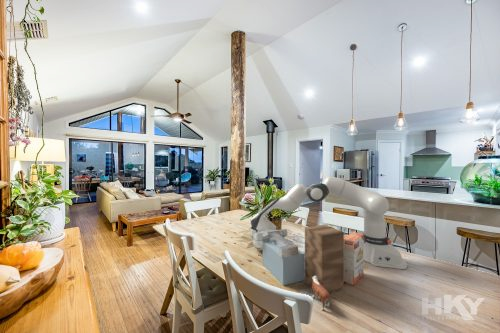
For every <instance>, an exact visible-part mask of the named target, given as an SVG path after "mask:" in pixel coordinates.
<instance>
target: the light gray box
mask: <svg viewBox="0 0 500 333" xmlns="http://www.w3.org/2000/svg"><path fill="white" fill-rule="evenodd" d="M270 241H271V242H272V243H274V244H275V245H276V246H278V247H279V256H280V257H281V258H284V257H289V256H294V255H298V250H299V246H298V245H297V244H296V243H294V242H291V241H290V240H288V239H287V238H286V237H282V236H280V235H279V234H277V233H270Z"/></svg>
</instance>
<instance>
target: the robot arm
mask: <svg viewBox="0 0 500 333" xmlns="http://www.w3.org/2000/svg"><path fill="white" fill-rule="evenodd" d="M328 195H331V196H335V197H337V198H340V199H342V200H344V201H346V202H349V203H350V204H351V203H352V204H353V205H355V206H357V207H359V208H361V209H362V214H363V233H362V234H364V261H365V262H367V263H369V264H371V265H372V266H375V267H382V268H389V269H398V270H400V269H401V270H406V269H407V268H408V263H407V261H406V260H405V259H403V256H402V254H401V252H400V250H399V249H398V248H396V247H395V246H394V245H392V240H391V239H390V237H389V236H387V235H386V234H387V228H386V226H387V224H386V223H387V222H386V217H385V214H386V213H387V212H388V211H389V209H390V202H389V201H388V199H387V197H385V196H384V195H382V194H380V193H379V192H377V191H373V190H369V189H367V188H365V187H363V186H360V185H358V184H355V183H353V182H350V181H348V180H346V179H342V178H339V177H336V176H331V175H330V176H326V178H324V179H323V182H322V183H313V184H311V185H307V186H306V185H304V184H302V183H297V184H295V185H294V186H292V188H291V189H289V191H288V192H286V194H285V195H283V196H282V197H276V198H274V199H273V200H272V201H270V202H269V203H267V205H265V207H263V208H262V209H261V210H260V211H258V212H257V213H255V214H254V215H253V216H252V217H251V219H250V226H251V227H253V228H255V229H257V230H258V231H259V232H260V233H256V234H255V235H254V238H253V237H251V241H252V244H253V246H254V247H255V248H257V249H263V242H264V241H270V233H277V234H279V235H280V236H282V237H284V238H286V237H287V236H288V235H289V234H288V230H287V228H282V229H278V226H276V224H274V223H273V222H272V221H270V220H269V219H268V218H267V217H266V215H268V214H269V213H270V212H271V211H272V210H275V209H276V210H277V209H279V210H282V211H285V212H295V211H296V210H297V209H298V208H299V207H300V206H301V205H302V204H303V202H305V200H307V199H309V200H310V201H311V202H314V203H320V202H322V201H324V200H325V199H326V198H327V196H328Z"/></svg>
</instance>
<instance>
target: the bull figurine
mask: <svg viewBox="0 0 500 333" xmlns="http://www.w3.org/2000/svg"><path fill="white" fill-rule="evenodd" d="M310 279H313V281H312V287H311V289H312V296H311V298H312V299H315V296H316V297H318V299H319V300H321V303H322V307H321V309H320V310H321V311H325V307H329V306H330V303H331V302H330V298H331V293H328V292H327V290H326V289H325V288H324V287H323V286H322V285H321V284H320V283H319V282H318V280H319V281H320V280H321V279H318V278H317V276H313V277H310Z"/></svg>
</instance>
